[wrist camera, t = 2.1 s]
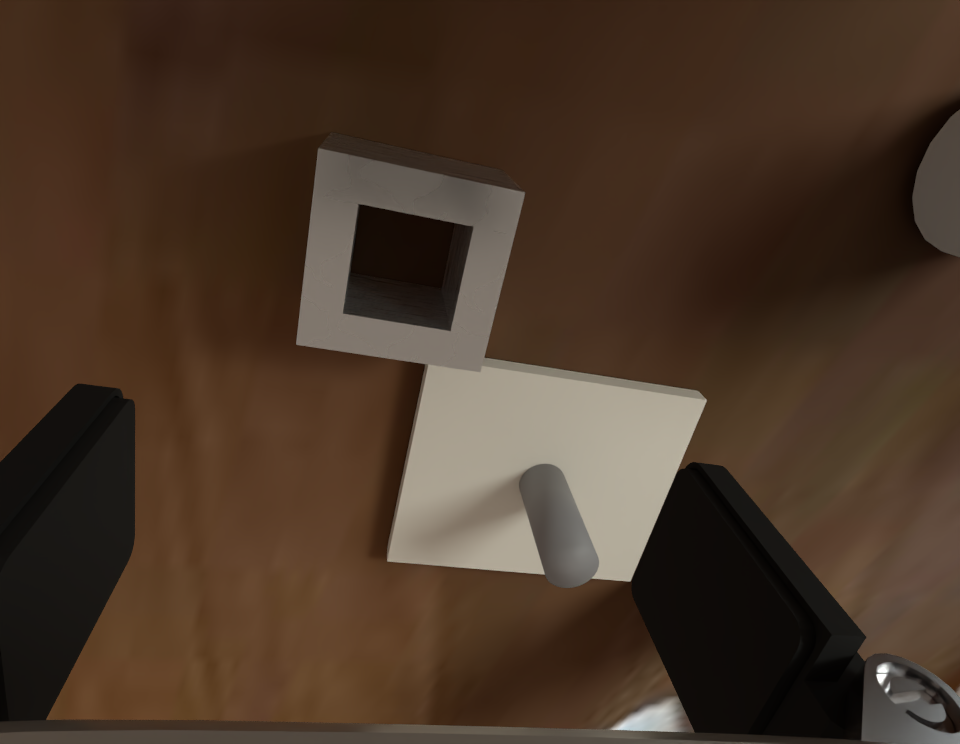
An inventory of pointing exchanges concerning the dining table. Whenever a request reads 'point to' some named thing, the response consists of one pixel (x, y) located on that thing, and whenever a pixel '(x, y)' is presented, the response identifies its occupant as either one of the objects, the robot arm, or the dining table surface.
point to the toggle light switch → (538, 470)
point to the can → (940, 190)
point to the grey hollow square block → (396, 304)
